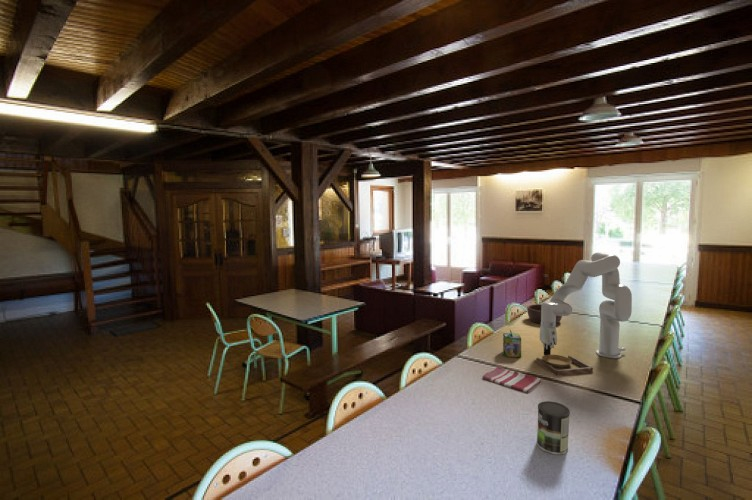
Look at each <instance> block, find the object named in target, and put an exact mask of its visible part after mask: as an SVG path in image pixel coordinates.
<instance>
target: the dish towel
mask: <svg viewBox="0 0 752 500" xmlns="http://www.w3.org/2000/svg"><path fill="white" fill-rule="evenodd" d="M482 379H483V380H485V381H488V382H491V383H494V384H497V385H501V386H504V387H506V388H507V387H508V388H509V389H512V390H516V391H519V392H523V393H525V394H530V393H531V392H532V391H533V390H535V389H536V388H538V387H539V386H540V385H541V384H542V383H543V382H542V379H541V378H540V377H536V376H532V375H529V374H523V373H520V372H517V371H513V370H510V369H506V368H503V366H497V367H496V368H495V369H493V370H491V371H489V372H486V373H485V374H484V375H482Z"/></svg>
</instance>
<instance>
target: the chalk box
mask: <svg viewBox="0 0 752 500" xmlns="http://www.w3.org/2000/svg"><path fill="white" fill-rule="evenodd" d="M502 338H503V339H502V354H503V355H504V357H507V358H522V337H521V335H520V334H519V333H513V332H512V330H511V329H509V332H504V333H502Z"/></svg>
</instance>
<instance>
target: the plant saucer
mask: <svg viewBox="0 0 752 500" xmlns="http://www.w3.org/2000/svg"><path fill="white" fill-rule="evenodd" d="M541 360H542V361H544V362H545V363H547V364H548V365H550V366H552V367H553V368H566V367H569V366H570V365H571V364H572V363H573V362H572V361H571V360H570V359H569V358H568V356H564V355H559V354H550V355H544V354H543V356H542V357H541Z"/></svg>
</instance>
